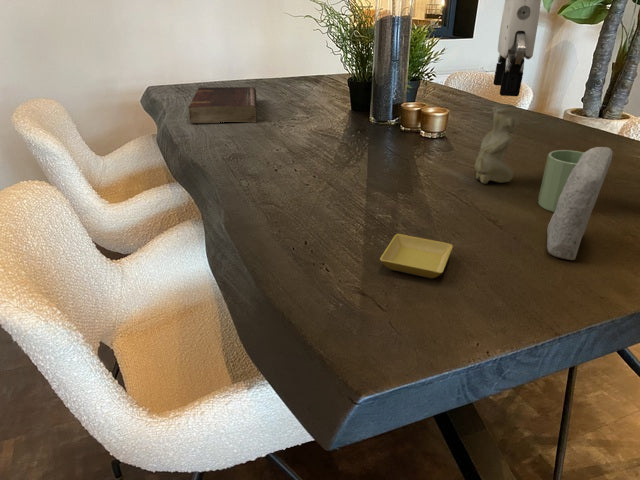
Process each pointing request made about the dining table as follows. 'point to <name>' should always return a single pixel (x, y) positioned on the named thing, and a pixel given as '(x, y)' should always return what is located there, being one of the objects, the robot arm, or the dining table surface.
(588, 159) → the decorative stone
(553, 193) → the sage cup
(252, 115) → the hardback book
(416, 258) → the yellow shallow tray
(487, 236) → the dining table surface
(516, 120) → the sculpture
